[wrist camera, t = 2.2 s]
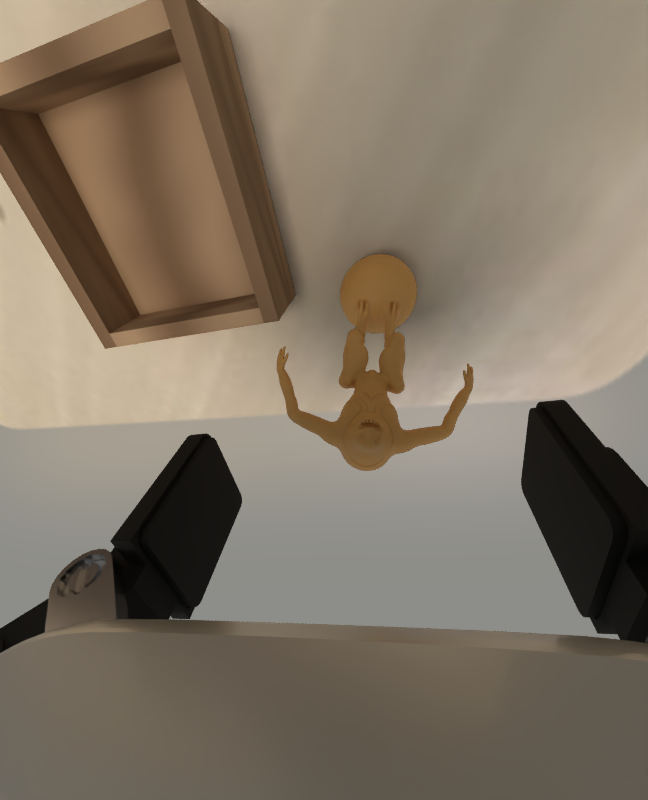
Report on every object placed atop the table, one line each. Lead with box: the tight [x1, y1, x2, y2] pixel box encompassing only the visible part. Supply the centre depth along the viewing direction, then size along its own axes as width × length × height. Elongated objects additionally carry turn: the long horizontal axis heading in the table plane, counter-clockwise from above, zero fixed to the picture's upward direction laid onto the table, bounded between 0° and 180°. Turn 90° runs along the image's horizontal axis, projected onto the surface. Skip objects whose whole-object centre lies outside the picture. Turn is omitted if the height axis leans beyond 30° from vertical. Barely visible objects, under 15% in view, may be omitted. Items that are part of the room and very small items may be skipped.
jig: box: [0, 0, 295, 349], centre depth 17 cm, size 11×12×4 cm
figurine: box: [277, 254, 473, 471], centre depth 16 cm, size 8×6×12 cm
